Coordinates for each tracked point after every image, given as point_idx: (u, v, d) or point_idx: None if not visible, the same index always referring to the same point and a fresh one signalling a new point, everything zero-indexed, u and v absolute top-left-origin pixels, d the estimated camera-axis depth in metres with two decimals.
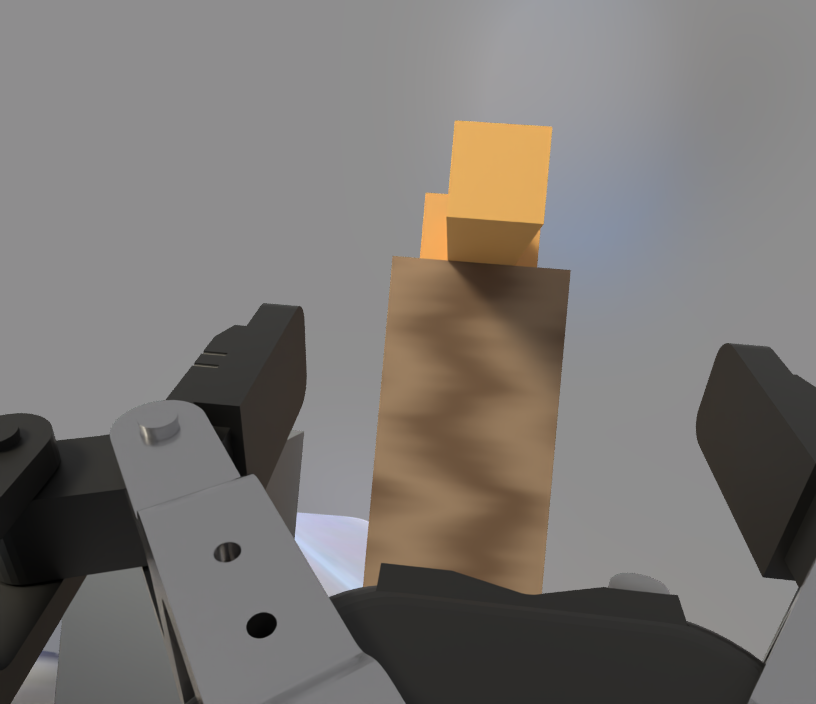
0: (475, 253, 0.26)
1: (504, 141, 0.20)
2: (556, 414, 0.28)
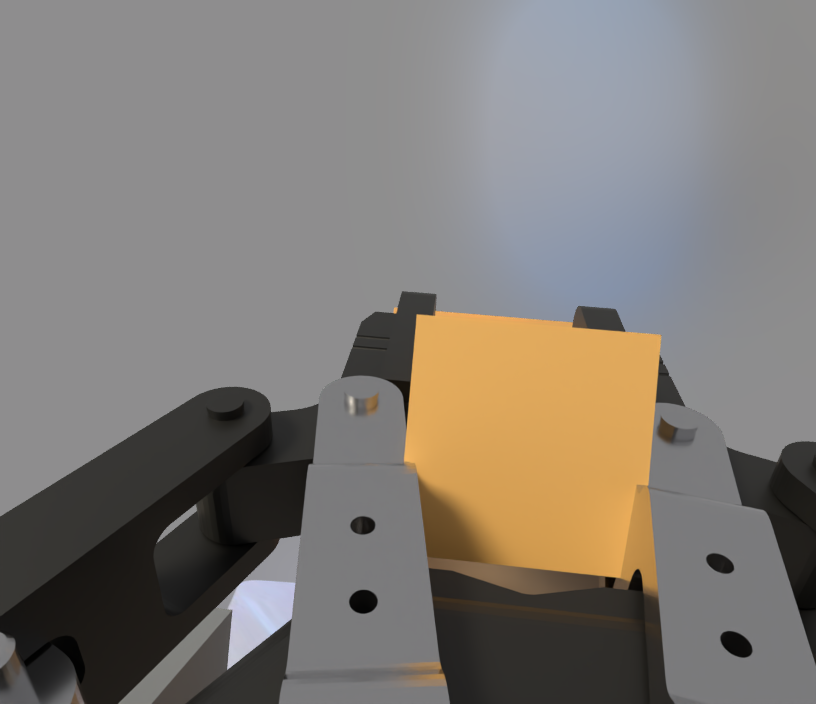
0: None
1: (539, 370, 0.08)
2: None
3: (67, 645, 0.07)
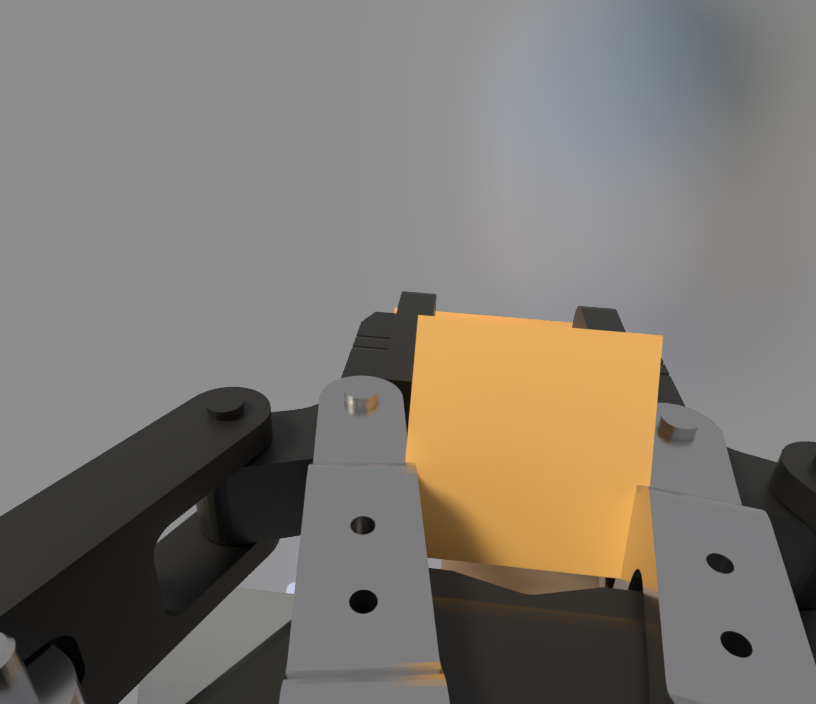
0: None
1: (540, 370, 0.08)
2: None
3: (67, 645, 0.07)
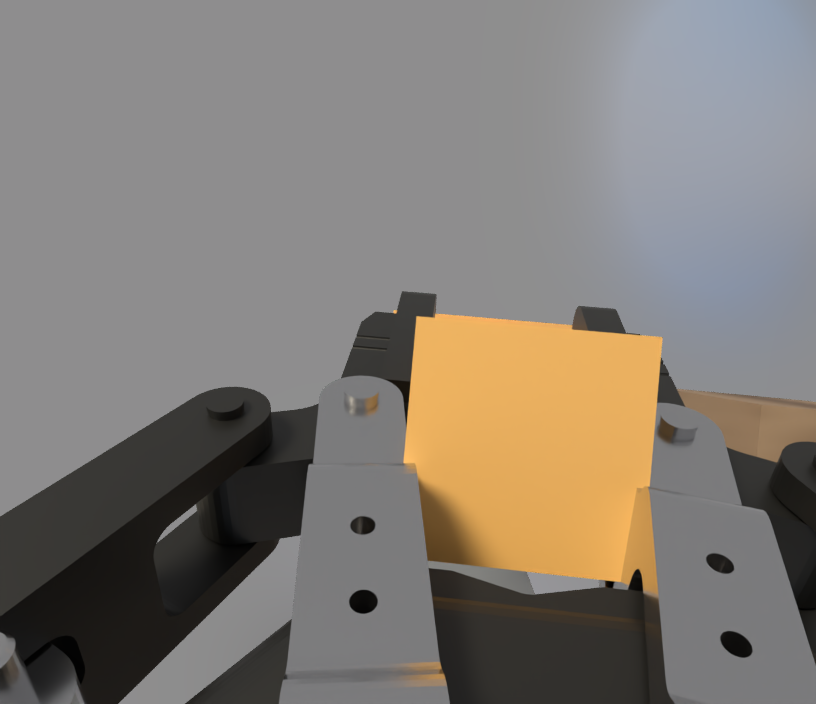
0: None
1: (540, 373, 0.08)
2: None
3: (67, 645, 0.07)
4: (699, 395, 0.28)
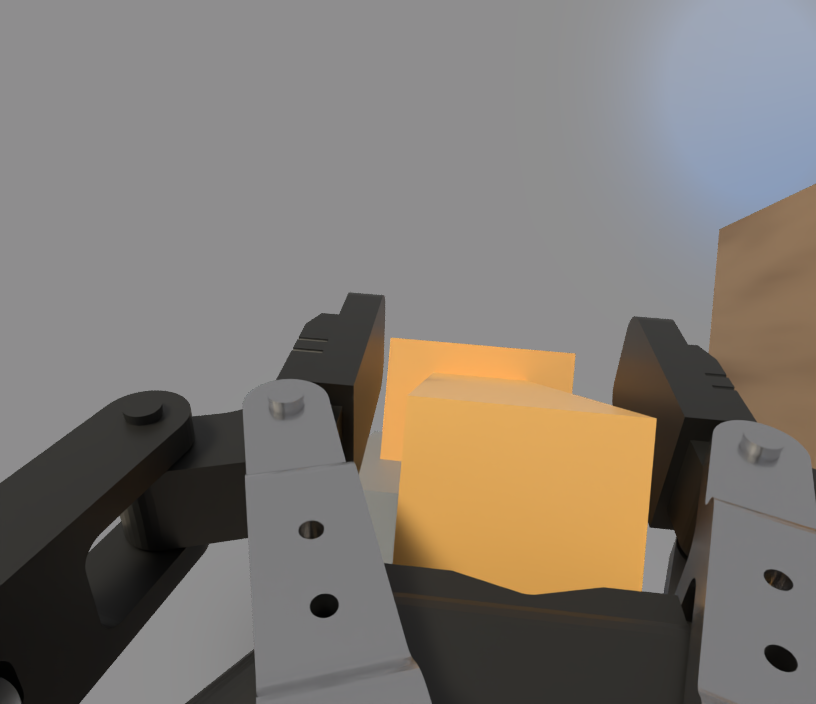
0: None
1: (532, 453, 0.08)
2: None
3: (1, 672, 0.07)
4: (805, 190, 0.21)
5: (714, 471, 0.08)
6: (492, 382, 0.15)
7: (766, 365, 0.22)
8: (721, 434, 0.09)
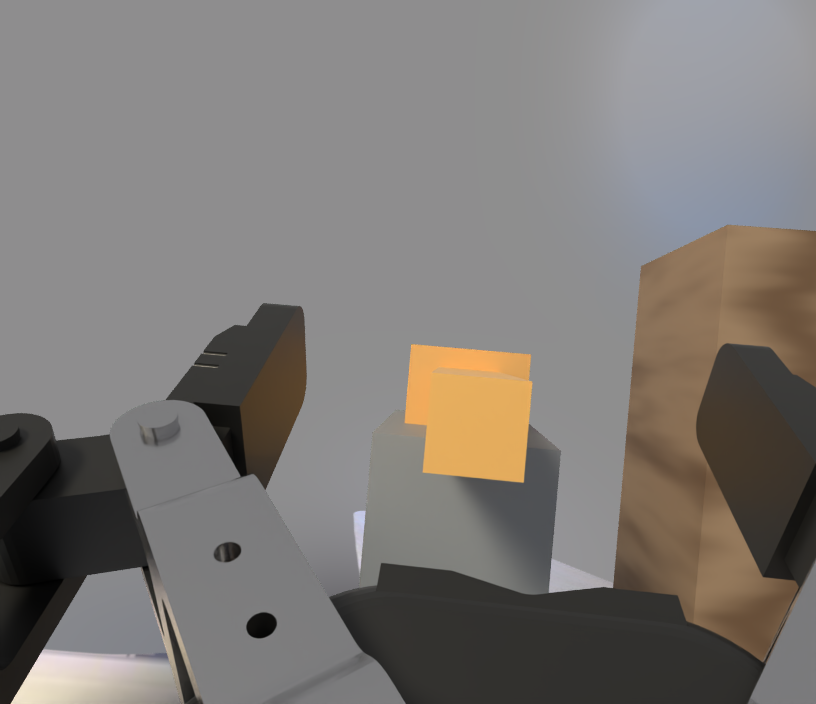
0: None
1: (482, 396, 0.19)
2: None
3: None
4: (680, 248, 0.32)
5: None
6: (474, 371, 0.27)
7: (660, 362, 0.33)
8: None
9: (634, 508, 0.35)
